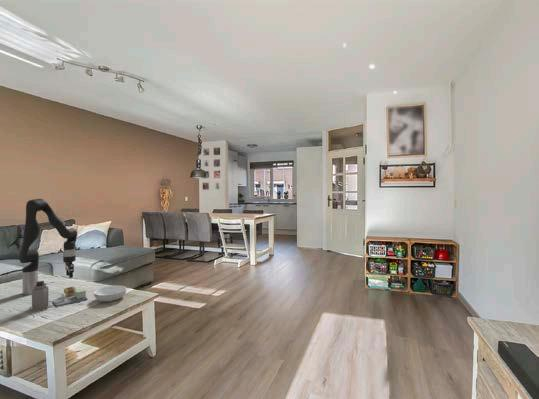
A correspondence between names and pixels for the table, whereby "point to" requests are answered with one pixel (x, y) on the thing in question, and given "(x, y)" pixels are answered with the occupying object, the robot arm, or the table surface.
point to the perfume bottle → (40, 296)
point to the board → (67, 300)
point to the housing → (80, 293)
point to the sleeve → (69, 291)
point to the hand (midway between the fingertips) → (69, 276)
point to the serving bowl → (110, 293)
